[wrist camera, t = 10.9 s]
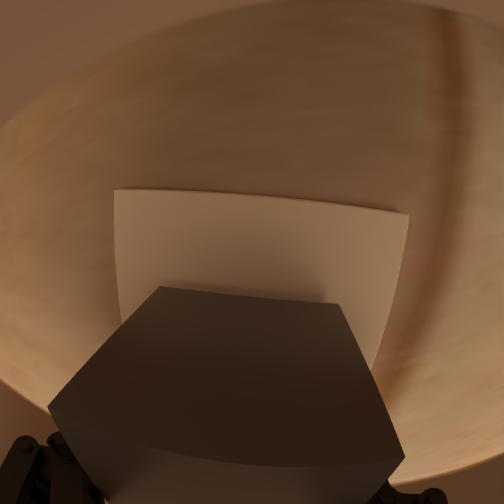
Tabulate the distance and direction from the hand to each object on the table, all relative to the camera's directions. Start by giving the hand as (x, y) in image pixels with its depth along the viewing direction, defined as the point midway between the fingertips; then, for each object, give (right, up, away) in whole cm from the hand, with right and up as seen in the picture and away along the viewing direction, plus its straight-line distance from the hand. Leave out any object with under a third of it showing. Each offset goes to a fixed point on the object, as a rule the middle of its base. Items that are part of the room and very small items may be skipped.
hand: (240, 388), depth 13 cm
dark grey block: (0, 0, 0) cm, 0 cm away
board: (0, +1, +2) cm, 3 cm away
